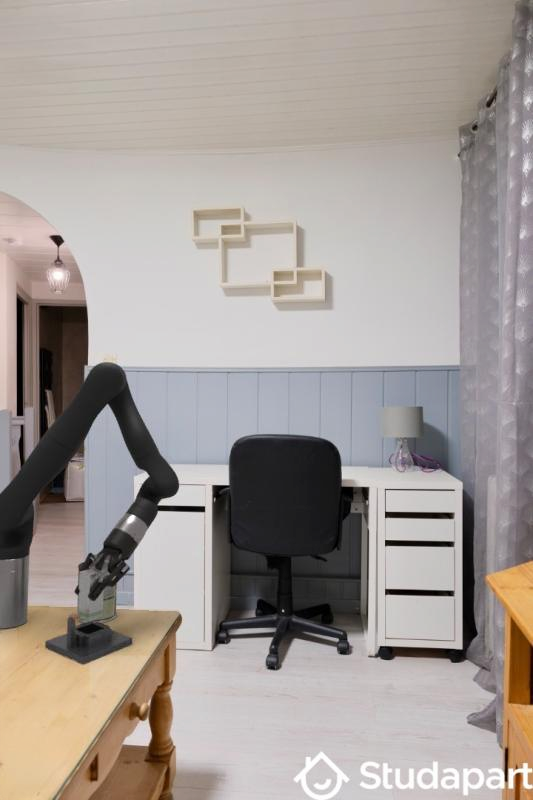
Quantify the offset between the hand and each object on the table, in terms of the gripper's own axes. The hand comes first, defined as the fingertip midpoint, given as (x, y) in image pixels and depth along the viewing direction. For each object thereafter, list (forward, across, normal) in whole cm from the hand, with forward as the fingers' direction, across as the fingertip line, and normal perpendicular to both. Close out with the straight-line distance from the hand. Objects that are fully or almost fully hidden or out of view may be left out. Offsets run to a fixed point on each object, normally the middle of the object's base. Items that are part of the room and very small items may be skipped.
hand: (84, 596), depth 134 cm
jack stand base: (+7, 0, +10) cm, 12 cm away
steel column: (+2, 0, +5) cm, 6 cm away
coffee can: (-2, -14, +19) cm, 24 cm away
